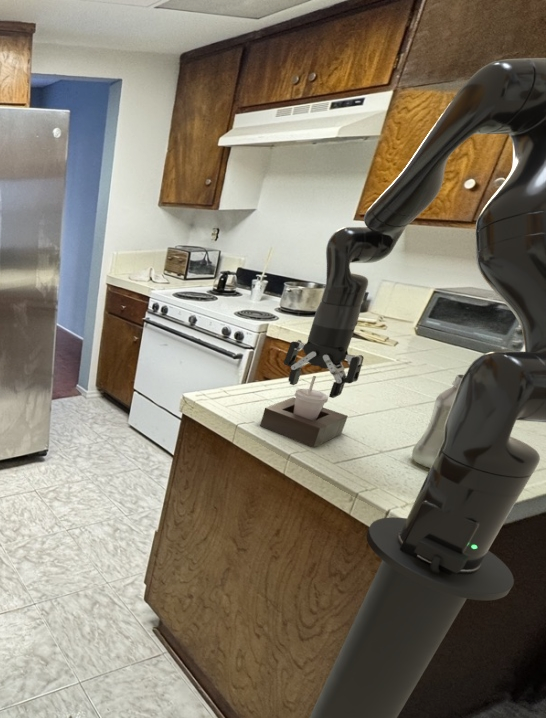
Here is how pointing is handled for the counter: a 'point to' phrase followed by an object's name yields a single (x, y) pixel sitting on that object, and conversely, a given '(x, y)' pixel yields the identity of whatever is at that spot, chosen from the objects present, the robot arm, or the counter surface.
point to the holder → (303, 423)
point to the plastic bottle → (435, 427)
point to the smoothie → (309, 402)
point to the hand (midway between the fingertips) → (312, 390)
